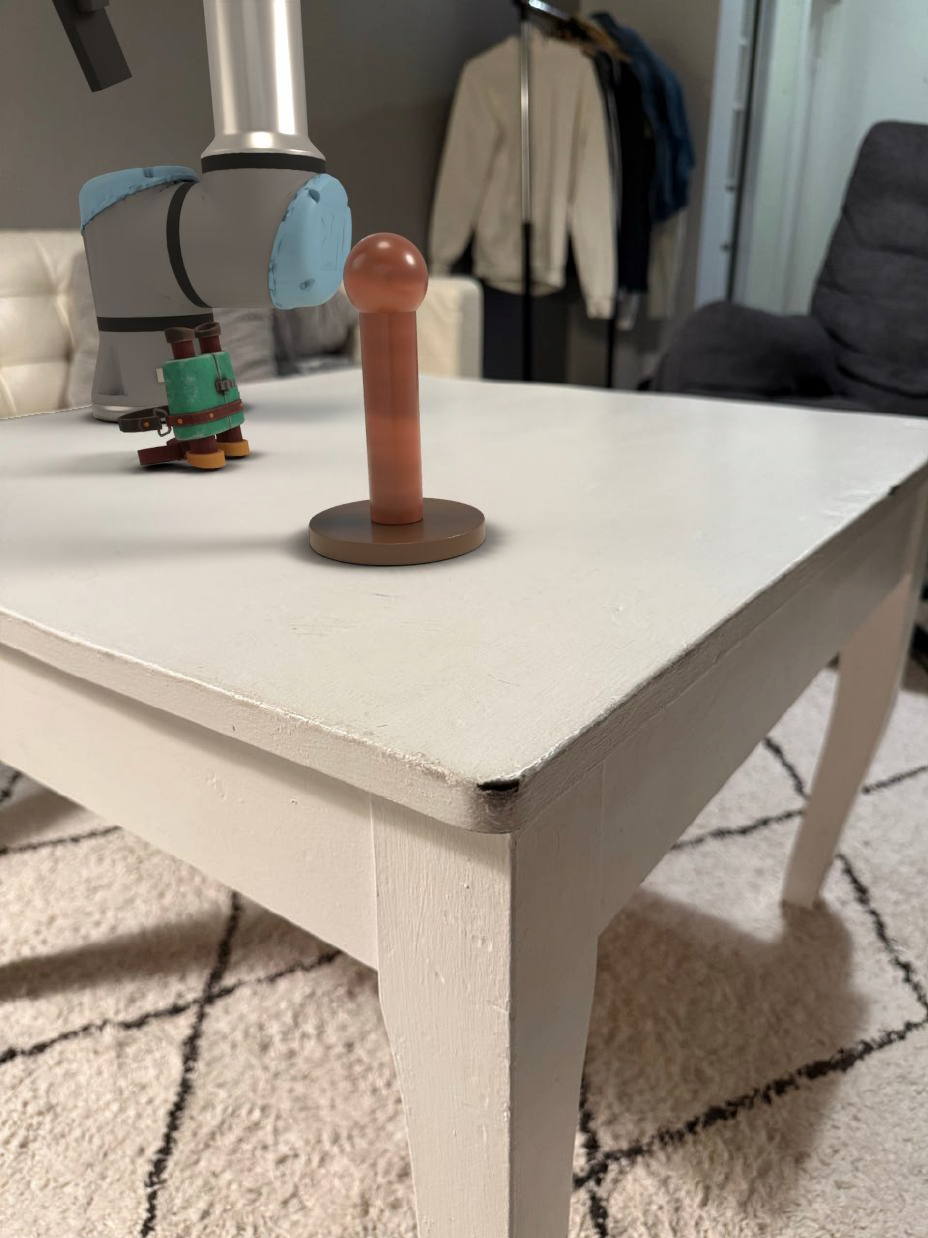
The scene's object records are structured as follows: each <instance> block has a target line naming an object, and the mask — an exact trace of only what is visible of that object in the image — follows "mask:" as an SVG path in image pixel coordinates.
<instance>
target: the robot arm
mask: <svg viewBox="0 0 928 1238" xmlns="http://www.w3.org/2000/svg"><path fill="white" fill-rule="evenodd" d="M51 1H52V4H53V6H54V9H55V11H56V13H57V15H58V18H59V20H60V22H61V25H62V28H63V30H64V32H65V34H66V37H67V38H68V41H69V43H70V46H71V48H72V50H73V53H74V55H75V57H76V59H77V61H78V64H79V66H80V69H81V70H82V73H83V76H84V77H85V80H86V82H87V85H88V87H89V90H90V91H91V93H96V92H100V91H103V90H106V89H108V88H110V87H114V86H115V85H117V84H119V83H122V82H124V81H126V80H129V79H131V78H133V74H132V73H131V69H130V67H129V65H128V63H127V60H126V57H125V55H124V53H123V50H122V48H121V45H120V43H119V41H118V37H117V35H116V33H115V31H114V28H113V25H112V22H111V20H110V18H109V16H108V13H107V11H106V8H105V7H108V6H110V5H111V3H110V0H51ZM202 3H203V12H204V13H203V15H204V25H205V35H206V49H207V57H208V58H207V59H208V69H209V79H210V80H209V81H210V92H211V101H212V102H211V104H212V115H213V126H214V137H213V140H212V141H211V142H210V143H209V145H208V146H207V147H206V148H205V149H204V151H203V152H202V153H201V154H200V165H201V178H202V181H201V180H200V178H199V177H198V174H197V172H196V171H195V170H194V169H193V168H190V167H188V166H183V165H182V166H180V165H156V166H150V167H135V168H128V169H127V168H126V169H123V170H117V171H112V172H108V173H104V174H100V175H98V176H95V177H93V178H91V179H89V180H87V181H86V182H85V183H84V184H83V186H82V187H81V189H80V191H79V194H78V204H79V205H78V206H79V215H80V226H79V231H80V236H81V237H82V240H83V246H84V253H85V258H86V265H87V270H88V275H89V276H88V277H89V282H90V288H91V293H92V300H93V307H94V313H95V317H96V318H95V319H96V324H97V329H98V337H99V339H98V340H99V342H98V349H97V354H96V355H97V356H96V361H95V368H94V374H93V379H92V386H91V392H90V405H91V410H92V416H93V417H94V418H95V419H98V420H102V421H109V422H118V420H117V418H118V417H120V416H122V415H124V414H127V413H130V412H134V411H138V410H142V409H147V408H152V407H158V406H163V405H168V401H167V395H166V389H165V383H164V377H163V371H162V363H163V362H164V361H167V360H172V359H174V356H173V352H172V347H171V344H170V343H167V341H166V337H165V333H164V330H166V329H168V328H175V327H179V328H188V329H192V330H193V329H194V328H195V327H197V326H199V325H201V324H205V323H209V322H215V318H214V309H277V310H292V309H293V310H294V309H295V308H306V307H309V308H310V307H317V306H321V305H323V304H325V303H327V302H328V301H330V300H331V298H333V297H334V295H336V293H337V291H338V290H339V289H340V287H341V284H342V282H343V271H344V265H345V262H346V259H347V257H348V255H349V253H350V251H351V250H352V234H353V231H352V230H353V224H352V223H353V222H352V212H351V208H350V206H349V205H348V201H349V198H348V194H347V192H346V189H345V187H344V185H343V184H342V183H341V182H340V180H339V179H337V178H335V177H333V176H331V174H328V173H327V161H326V157H325V155H324V154H323V153H322V152H321V151H320V150H319V149H318V148H317V147H316V146H315V145H314V144H313V142H312V141H311V139H310V137H309V129H308V128H309V127H308V109H307V94H306V93H307V92H306V76H305V74H306V73H305V59H304V57H305V56H304V43H303V41H304V40H303V24H302V8H301V7H302V6H301V0H202ZM192 342H193V346H194V351H195V355H197V354H201V350H200V345H199V340H198V338H195V340H193V341H192ZM221 350H222V351H223V348H221ZM237 388H238V392H239V397H240V398H241V394H240V391H239V386H238V385H237ZM161 422H166V421H165V418H162V419H161Z"/></svg>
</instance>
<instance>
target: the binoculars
mask: <svg viewBox="0 0 928 1238" xmlns="http://www.w3.org/2000/svg"><path fill="white" fill-rule="evenodd" d="M164 333H165V337H166V341H167V343H170V344H171V347H172V352H173V356H174V359H172V360H167V361H164V362H163V363H162V371H163V377H164V383H165V389H166V395H167V401H168V405H163V406H158V407H152V408H147V409H142V410H138V411H134V412H130V413H127V414H124V415H122V416H120V417H118V418H117V420H118V421H117V424H118V428H119V431H120V432H122V433H124V434H125V433H128V434H129V433H130V434H131V433H132V434H134V433H135V434H136V433H146V432H154V431H157V432H156V433H157V435H158V436H159V437H160V438H163V437H165V436H167V435H170V434H171V433H172V432H173V436H174V437H171V438H170V439H168V440H167V441H166V442H165V444H166V445H158V446H153V447H147V448H142V449H137V450H136V451H137V457H138V460H139V465H140V466H148V465H149V466H151V465H157V464H163V463H168V462H174V461H175V462H176V461H177V462H179V461H186V460H187V463H188V464H189V465H191V466H192V467H196V468H199V469H200V468H201V469H217V468H221V467H225V466H226V465H227V462H226V458H225V457H229V458H231V457H241V456H242V457H243V456H248V455H250V454H251V451H250V444H249V440H247V439H246V438H243V433H242V428H241V425H243V424H244V423H245V416H244V411H243V409H244V404H243V400H242V398H241V396H240V397H239V393H240V391H239V392H238V390H239V387H238V388H237V386H238V384H237V381H236V375H235V372H234V367H233V364H232V360H231V356H230V354H229V351H228V350H225V349H224V350H223V349H222V346H221V341H220V336H221V335H222V329H221V324H220V322H218V321H214V322H209V323H205V324H201V325H199V326H197V327H195V328H194V329H193V330H192V329H188V328H179V327H175V328H168V329H166V330H164ZM195 338H198V340H199V345H200V350H201V354H197V355H195V351H194V346H193V342H192V341H193V340H195ZM221 349H222V350H221ZM162 418H165V421H164V422H165V425H166V427H167V431H165V432H163V433H162V432H161V430H163V423H162V421H161V419H162Z"/></svg>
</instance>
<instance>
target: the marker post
mask: <svg viewBox="0 0 928 1238" xmlns="http://www.w3.org/2000/svg"><path fill="white" fill-rule="evenodd" d="M342 282H343V287H344V291H345V294H346V296H347V299H348V301H349V303H351V305H352V306H353V308H354V309H355V310H356V311H357V312H358V323H359V325H358V326H359V338H360V340H359V341H360V357H361V358H360V359H361V375H362V393H363V406H364V407H363V408H364V411H363V412H364V424H365V441H366V442H365V443H366V459H367V461H366V462H367V477H368V494H369V496H368V497H369V499H363V500H357V501H356V500H355V501H351V502H346V503H342V504H339V505H334V506H331V507H329V508H327V509H324V510H321V511H320V512H318V513H316V514H314V515H313V516H312V517H311V518H310V520H309V522H308V532H309V533H308V534H309V544H310V546H311V548H312V550H314V552H316V553H317V554H319V555H321V556H323V557H325V558H328V559H331V560H335V561H339V562H344V563H350V564H357V565H366V566H367V565H369V566H407V565H418V564H424V563H425V564H426V563H433V562H438V561H443V560H447V559H452V558H455V557H458V556H462V555H464V554H467V553H469V552H471V551H473V550H476V549H477V548H478V547H480V546H481V545H482V544H483V542H484V541H485V539H486V517H485V514H484V513H483V511H481V510H480V509H478V508H477V507H475V506H473V505H470V504H468V503H464V502H461V501H457V500H451V499H444V498H435V497H424V495H423V494H424V493H423V491H424V490H423V465H422V438H421V437H422V436H421V410H420V383H419V378H420V377H419V355H418V351H419V349H418V328H417V327H418V326H417V323H418V322H417V311H418V310H419V308H420V306H422V304H423V302H424V301H425V300H424V299H425V298H426V295H427V292H428V287H429V270H428V266H427V263H426V260H425V258H424V256H423V254H422V253H421V251H420V249H418V247H417V246H416V245H415V244H414V242H412V241H411V240H409V239H408V238H406V237H404V236H402V235H400V234H397V233H392V232H385V231H384V232H377V233H376V232H375V233H372V234H370V235H367V236H366V237H364V238H362V239H361V240H359V241H358V242H356V244H355V245H354V246H353V247H352V248H351V249H350V253H349V255H348V257H347V259H346V262H345V265H344V271H343V280H342Z"/></svg>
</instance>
